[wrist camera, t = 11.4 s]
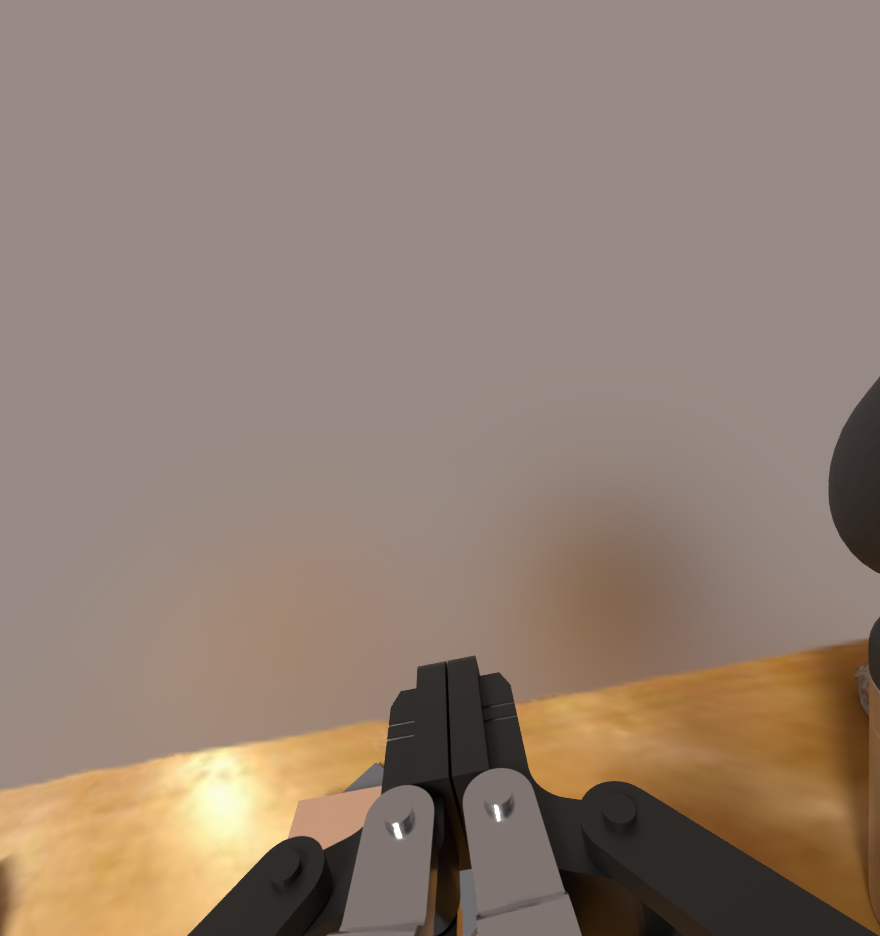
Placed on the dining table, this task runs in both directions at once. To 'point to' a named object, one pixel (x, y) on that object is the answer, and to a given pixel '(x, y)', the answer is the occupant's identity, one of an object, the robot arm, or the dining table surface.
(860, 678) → the grey rock
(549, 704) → the dining table surface
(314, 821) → the tile
